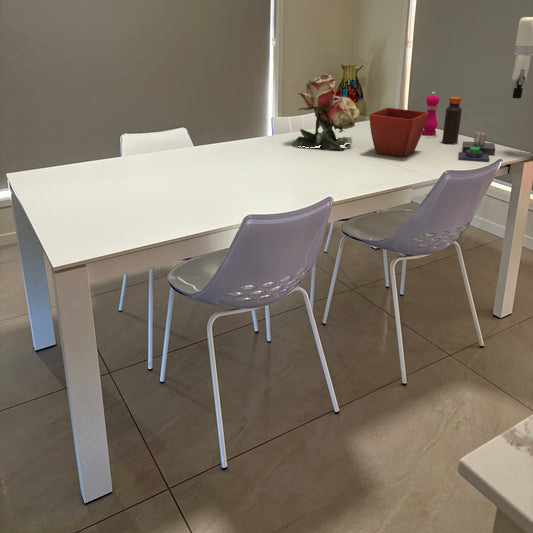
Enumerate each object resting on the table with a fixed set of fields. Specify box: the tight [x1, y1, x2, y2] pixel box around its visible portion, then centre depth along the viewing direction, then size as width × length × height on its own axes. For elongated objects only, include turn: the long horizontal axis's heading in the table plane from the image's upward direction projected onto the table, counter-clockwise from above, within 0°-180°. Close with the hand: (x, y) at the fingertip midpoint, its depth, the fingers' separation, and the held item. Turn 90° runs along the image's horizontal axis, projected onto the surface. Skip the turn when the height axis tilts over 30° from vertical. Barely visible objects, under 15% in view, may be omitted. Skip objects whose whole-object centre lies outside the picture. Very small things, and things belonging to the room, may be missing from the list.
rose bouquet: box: [292, 73, 361, 150], centre depth 264 cm, size 26×29×30 cm
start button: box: [470, 147, 479, 153], centre depth 243 cm, size 4×4×2 cm
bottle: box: [441, 96, 463, 145], centre depth 265 cm, size 7×7×20 cm
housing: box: [457, 150, 490, 163], centre depth 244 cm, size 12×9×3 cm
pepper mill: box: [421, 91, 440, 137], centre depth 281 cm, size 7×7×20 cm
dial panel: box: [461, 141, 496, 156], centre depth 254 cm, size 13×10×3 cm
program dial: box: [473, 131, 487, 146], centre depth 252 cm, size 4×4×5 cm
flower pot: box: [369, 107, 428, 158], centre depth 250 cm, size 19×19×17 cm
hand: (516, 97), depth 242 cm, fingers closed
